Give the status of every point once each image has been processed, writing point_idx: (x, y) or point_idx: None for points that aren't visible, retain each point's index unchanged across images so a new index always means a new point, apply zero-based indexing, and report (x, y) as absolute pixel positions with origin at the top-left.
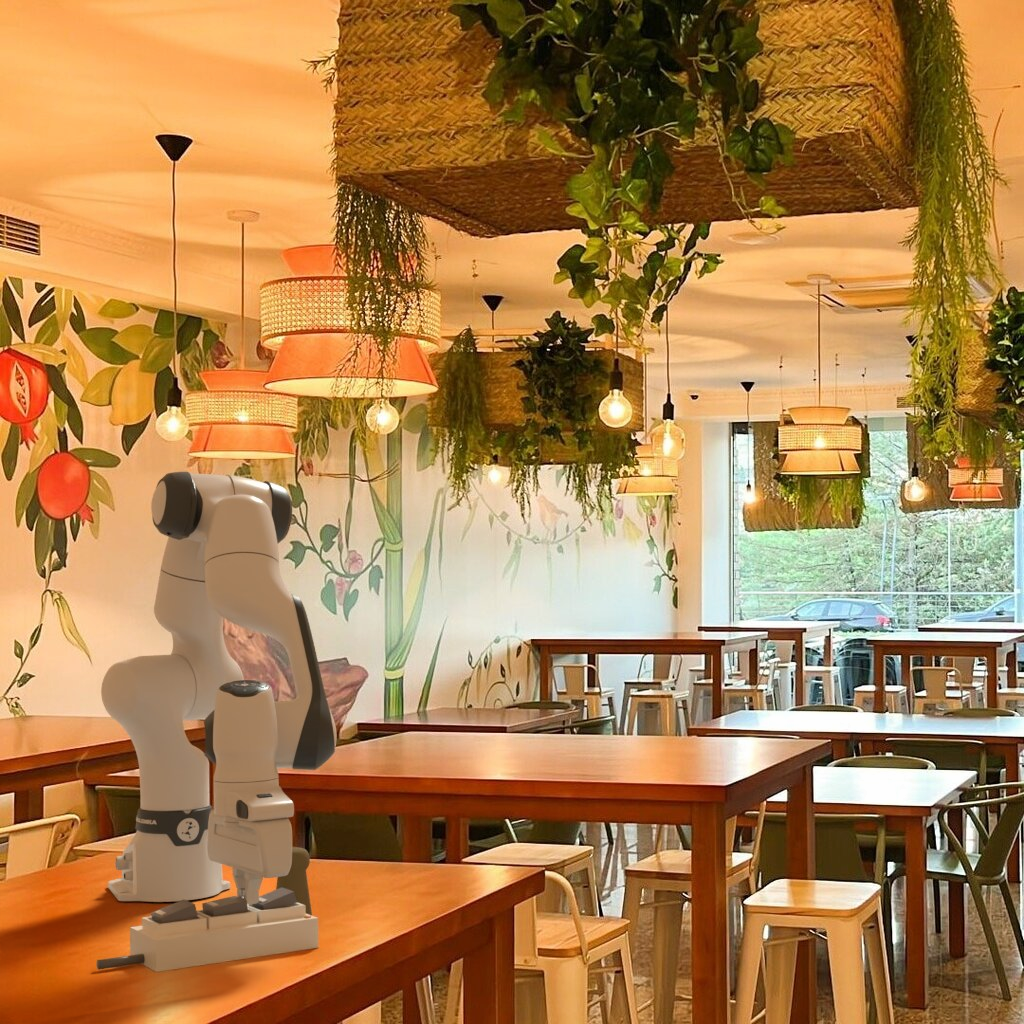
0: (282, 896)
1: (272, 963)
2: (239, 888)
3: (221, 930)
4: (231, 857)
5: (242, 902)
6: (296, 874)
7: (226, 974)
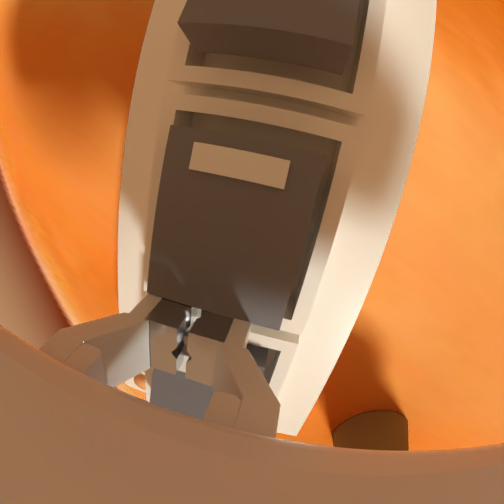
0: (150, 398)
1: (92, 201)
2: (219, 345)
3: (138, 121)
4: (160, 477)
5: (151, 271)
6: None
7: (80, 77)
